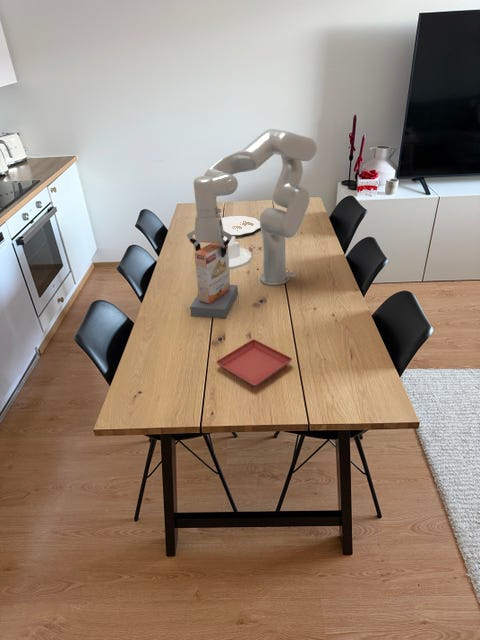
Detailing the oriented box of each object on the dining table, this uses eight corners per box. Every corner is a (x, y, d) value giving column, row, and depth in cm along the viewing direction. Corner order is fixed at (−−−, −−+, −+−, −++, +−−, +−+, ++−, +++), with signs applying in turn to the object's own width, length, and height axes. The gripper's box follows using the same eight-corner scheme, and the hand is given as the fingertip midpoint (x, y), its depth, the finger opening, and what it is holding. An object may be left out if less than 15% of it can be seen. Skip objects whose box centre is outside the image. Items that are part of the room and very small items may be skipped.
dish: (218, 245, 243) (216, 224, 237) (260, 253, 231) (260, 231, 225) (190, 264, 225) (187, 242, 219) (234, 274, 214) (233, 251, 208)
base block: (237, 293, 197) (237, 285, 195) (225, 318, 181) (225, 309, 179) (205, 291, 200) (204, 283, 198) (191, 315, 184) (190, 306, 182)
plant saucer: (215, 369, 155) (214, 361, 153) (253, 345, 165) (253, 337, 163) (255, 393, 143) (254, 385, 142) (293, 366, 154) (293, 358, 152)
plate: (200, 226, 268) (200, 222, 267) (247, 216, 278) (247, 212, 277) (220, 243, 245) (220, 238, 244) (270, 232, 255) (270, 227, 254)
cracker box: (210, 304, 182) (205, 255, 171) (198, 301, 185) (193, 251, 174) (231, 289, 192) (228, 241, 181) (219, 286, 195) (215, 239, 184)
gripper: (232, 209, 171) (235, 252, 180) (187, 208, 175) (192, 250, 184) (227, 216, 165) (230, 260, 174) (181, 215, 169) (186, 258, 178)
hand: (211, 255), depth 179 cm, fingers open, 9 cm apart
